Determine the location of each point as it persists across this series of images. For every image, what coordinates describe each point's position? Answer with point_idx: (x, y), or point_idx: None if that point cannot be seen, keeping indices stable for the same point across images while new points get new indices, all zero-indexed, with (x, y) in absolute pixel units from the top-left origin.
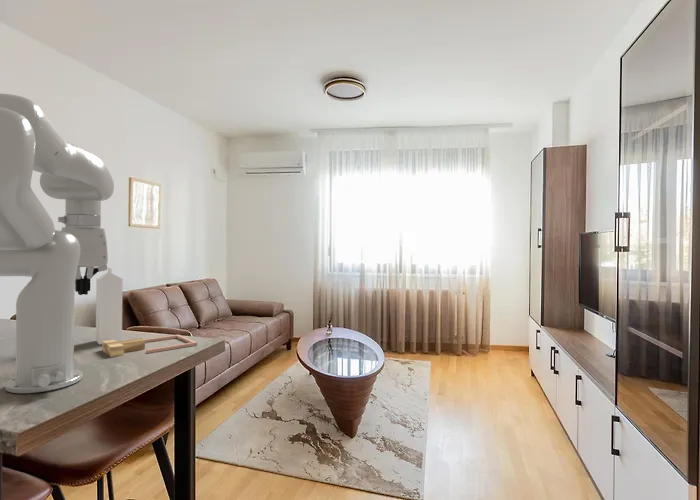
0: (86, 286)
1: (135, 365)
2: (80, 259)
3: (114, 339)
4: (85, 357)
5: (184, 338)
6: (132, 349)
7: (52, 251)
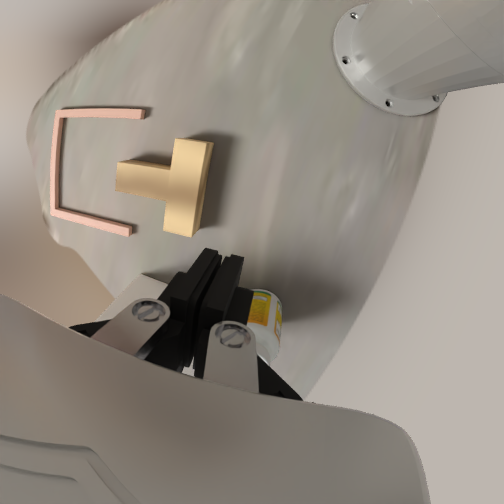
0: (198, 270)
1: (216, 29)
2: (177, 471)
3: (151, 282)
4: (255, 190)
5: (54, 167)
6: (153, 163)
7: None
